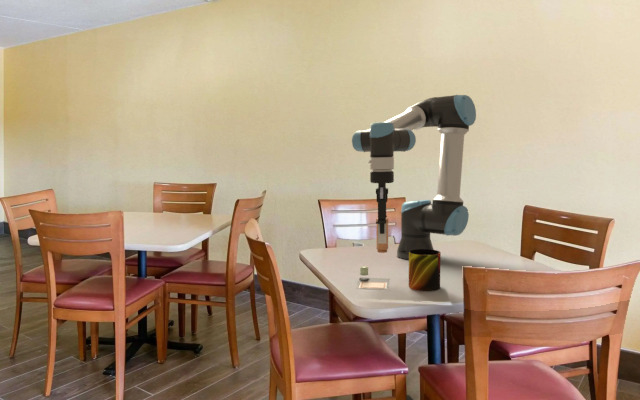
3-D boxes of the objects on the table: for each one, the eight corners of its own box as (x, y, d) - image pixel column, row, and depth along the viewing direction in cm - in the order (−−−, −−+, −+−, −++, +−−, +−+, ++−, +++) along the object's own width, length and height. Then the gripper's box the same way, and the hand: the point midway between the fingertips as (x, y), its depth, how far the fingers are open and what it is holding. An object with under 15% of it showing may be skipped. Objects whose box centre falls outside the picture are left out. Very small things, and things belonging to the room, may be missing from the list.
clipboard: (389, 280, 164) (389, 277, 163) (388, 292, 150) (388, 289, 150) (359, 279, 165) (359, 276, 165) (356, 291, 152) (356, 288, 152)
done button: (368, 273, 163) (368, 266, 163) (367, 275, 161) (367, 268, 161) (360, 273, 164) (360, 266, 164) (360, 275, 161) (360, 268, 161)
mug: (410, 281, 163) (410, 245, 162) (446, 289, 153) (446, 251, 152) (391, 286, 156) (392, 250, 155) (428, 296, 146) (428, 256, 145)
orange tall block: (388, 250, 162) (388, 217, 161) (388, 253, 158) (388, 219, 157) (376, 250, 162) (376, 217, 161) (375, 252, 159) (375, 219, 157)
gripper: (371, 169, 166) (372, 237, 168) (368, 172, 150) (369, 247, 152) (393, 169, 165) (394, 237, 167) (393, 171, 149) (393, 247, 151)
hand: (382, 241), depth 160 cm, fingers closed on orange tall block, 3 cm apart
